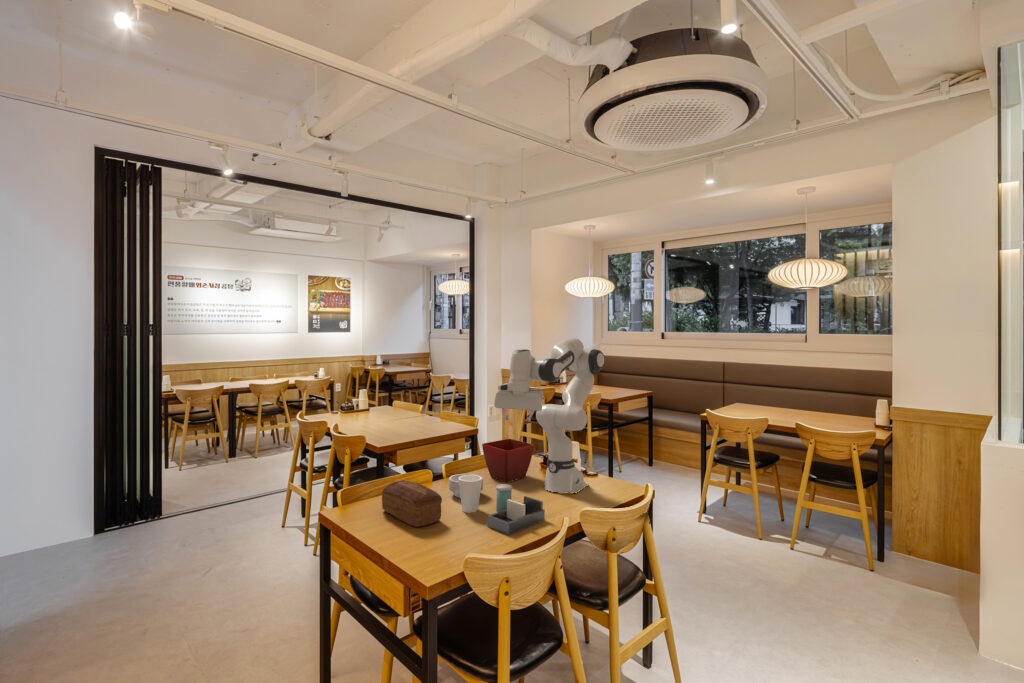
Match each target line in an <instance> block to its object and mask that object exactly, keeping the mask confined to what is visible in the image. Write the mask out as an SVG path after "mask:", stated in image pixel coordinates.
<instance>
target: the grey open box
mask: <svg viewBox="0 0 1024 683" xmlns="http://www.w3.org/2000/svg"><path fill="white" fill-rule="evenodd" d="M521 503H522V502H521ZM522 504H525V516H524V517H521V518H519V519H516V520H512V519H509V518H507V509H505V510H502V511H500V512H497V511H496V512H494V513H492V514H489V515H487V516H486V517H487V521H486V523H487V524H486V526H487V527H488V528H490V529H493V530H495V531H498V532H500V533H503V534H504V535H507V536H510V535H513V534H514V533H518V532H520V531H521V530H524V529H526V528H529V527H532V526H534V525H536V524H539V523H542V522H544V521H545V520H546V518H545V516H546V515H545V513H546V512H545V509H543V506H544V502H543V501H542V500H539V499H537V498H536V499H535V498H533V497H529V496H527V495H525V496H523V503H522ZM543 520H544V521H543Z"/></svg>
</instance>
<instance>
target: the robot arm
mask: <svg viewBox="0 0 1024 683" xmlns="http://www.w3.org/2000/svg"><path fill="white" fill-rule="evenodd" d="M510 357H511V358H510V366H509V371H510V376H509V379H508V380H509V381H508V383H507V382H506V383H503V384H500V385H498V387H497V390H498V391H497V392H496V393H495V397H494V404H493V405H494V407H495V409H501V410H502V413H503V415H504V421H508V420H509V418H510V416H509V415H508V414H507V410H520V411H522V410H523V411H529V416H527V417H526V422H531V419H532V417H533V415H534V413H535V419H536V421H537V423H538V424H539V425H540V427H542V429H543V431H544V432H545V435H546V438H547V443H548V445H547V446H548V457H547V466H548V467H547V468H546V472H545V473H546V474H545V481H544V482H543V486H544V485H545V486H544V490H545V491H547V490H548V491H547V492H549V491H551V492H550V493H553V492H559V493H558V494H566V493H565V492H578V491H579V490H581V489H583V488H584V489H586V488H587V487H586V486H588V485H589V483H588V482H586V481H584V473H583V472H582V471H581V470H579V468H577V467H576V464H577V463H578V462H579V459H578V458H575V457H573V452H574V451H573V450H574V449H573V448H574V447H573V442H572V440H571V438H569V437H568V436H567V435H566V433H565V432H564V431H570V432H571V431H582V430H583V429H585V428H586V425H587V423H588V415H587V413H586V411H585V410H584V409H583V408H584V404H585V402H586V400H587V399H588V397H589V395H590V394H591V391H592V389H593V387H594V384H595V377H594V376H596V375H598V374H599V373H600V371H601V370H602V369H603V367H604V365H605V360H606V358H605V354H604V353H603V352H602V350H599V349H595V348H593V349H589V348H588V349H587V348H584V343H583V342H582V341H581V340H580V339H579V338H576V337H571V338H567V339H564V340H561V341H559V342H558V343H556V344H554V345H553V346H552V347H551V350H550V357H551V358H536V357H535V356H533V355H532V352H531V350H530V349H516V350H513V351H512V353H511V356H510ZM565 370H566V371H568V372H575V375H574V376H573V377H572V378H571V380H570V381H569V382H568V384H567V386H566V387H565V389H564V390H563V391H562V394H561V395H562V396H561V398H562V402H563V403H564V404H562V405H561V404H553V403H546V404H543V399H544V391H543V389H541V388H533V387H531V381H533V382H547V383H555V382H556V381H557V380H558V379H559V377H560V376H561V374H562V373H563V372H564V371H565ZM575 463H576V464H575ZM589 486H590V485H589ZM589 486H588V487H589ZM585 487H586V488H585ZM584 489H583V490H584ZM581 491H582V490H581ZM578 493H579V492H578Z"/></svg>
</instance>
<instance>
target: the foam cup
mask: <svg viewBox="0 0 1024 683" xmlns="http://www.w3.org/2000/svg"><path fill="white" fill-rule="evenodd" d="M477 475H478V474H475V475H464V476H460V477H459V487H460V496H461V498H460V502H461V511H462V512H463V513H467V514H470V513H471V512H473V513H476V512H478V510H479V503H480V495H481V491H480V490H481V485H482V477H483V476H481V475H479V476H477ZM480 476H481V477H480ZM471 514H472V513H471Z"/></svg>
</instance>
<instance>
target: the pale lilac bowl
mask: <svg viewBox="0 0 1024 683" xmlns="http://www.w3.org/2000/svg"><path fill="white" fill-rule="evenodd" d="M464 475H477V476H480V477H482V485H481V490H480V492H482V491H483V490H484V477H483V476H482V475H478V474H474V473H458V474H454V475H451V476H450V477H449V478H448V490H449V491H451V492H452V494H453V495H454V496H455V497H456V498H459V499H461V496H460V487H459V477H460V476H464Z"/></svg>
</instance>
